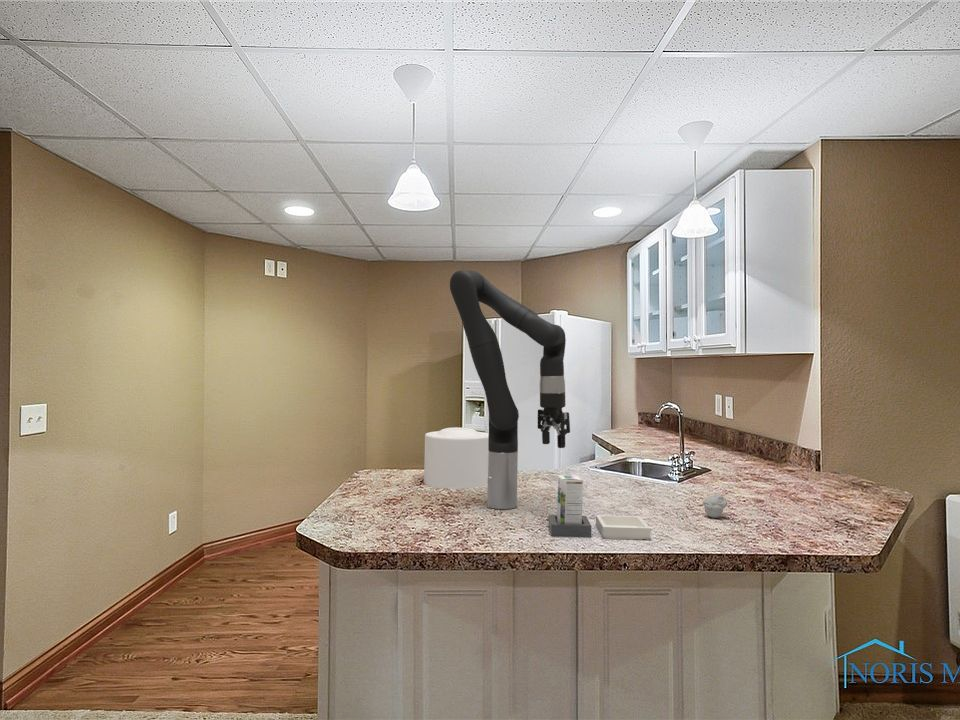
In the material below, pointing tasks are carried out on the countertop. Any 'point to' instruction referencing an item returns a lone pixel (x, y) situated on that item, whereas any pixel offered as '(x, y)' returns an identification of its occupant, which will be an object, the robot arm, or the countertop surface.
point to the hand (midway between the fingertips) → (553, 445)
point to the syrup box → (569, 499)
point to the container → (456, 458)
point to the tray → (622, 527)
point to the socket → (569, 528)
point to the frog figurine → (715, 505)
